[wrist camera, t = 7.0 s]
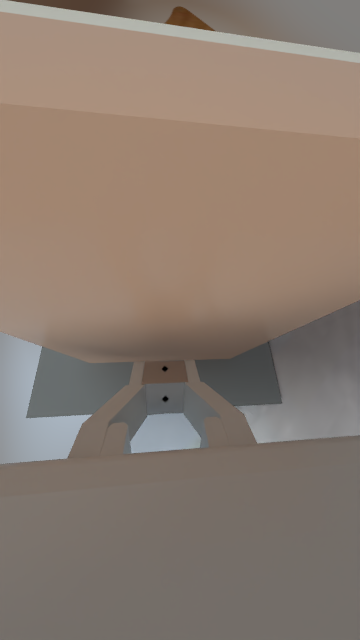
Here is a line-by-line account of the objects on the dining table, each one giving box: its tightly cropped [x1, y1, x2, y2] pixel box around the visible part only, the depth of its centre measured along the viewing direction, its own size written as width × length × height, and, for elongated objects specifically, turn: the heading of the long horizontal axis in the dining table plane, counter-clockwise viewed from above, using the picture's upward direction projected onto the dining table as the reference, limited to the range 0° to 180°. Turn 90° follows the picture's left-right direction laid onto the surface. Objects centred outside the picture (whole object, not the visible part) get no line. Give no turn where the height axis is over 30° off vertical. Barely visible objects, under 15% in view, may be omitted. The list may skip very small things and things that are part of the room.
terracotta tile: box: [0, 0, 360, 363], centre depth 9 cm, size 2×12×15 cm, turn 92°
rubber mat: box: [26, 342, 282, 418], centre depth 19 cm, size 24×20×1 cm
